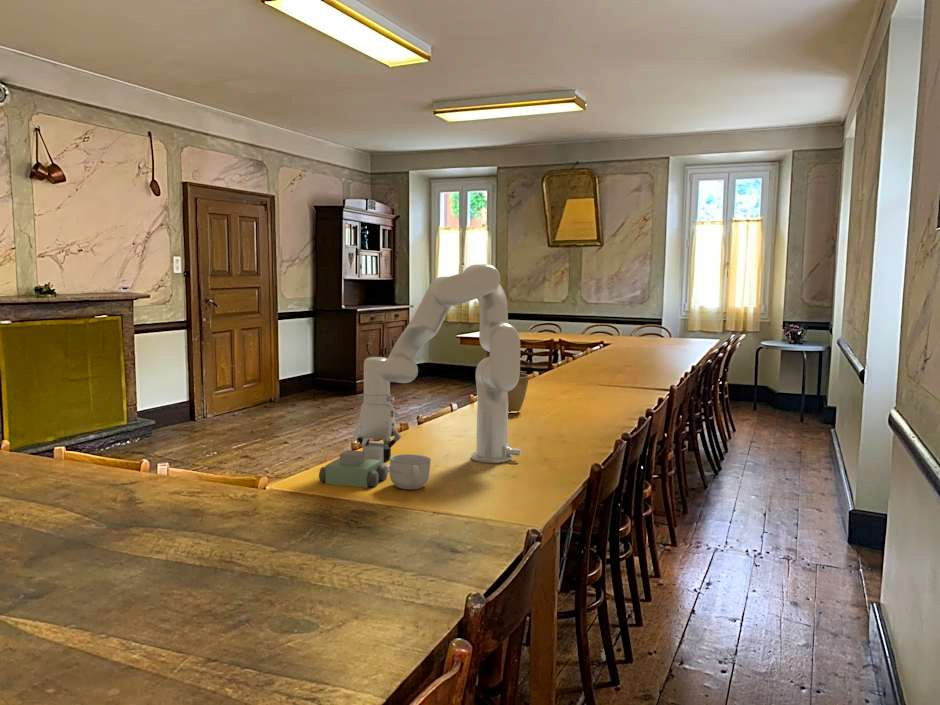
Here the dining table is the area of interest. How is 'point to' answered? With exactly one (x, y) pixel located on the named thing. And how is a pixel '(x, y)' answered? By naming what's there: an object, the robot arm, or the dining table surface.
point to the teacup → (409, 470)
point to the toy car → (354, 470)
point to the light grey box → (375, 451)
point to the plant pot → (518, 393)
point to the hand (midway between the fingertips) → (376, 460)
